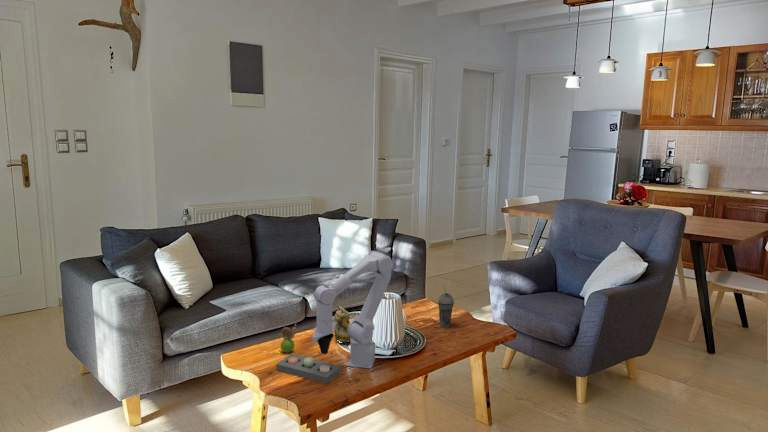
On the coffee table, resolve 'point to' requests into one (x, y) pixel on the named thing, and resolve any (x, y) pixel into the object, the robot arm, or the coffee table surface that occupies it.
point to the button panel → (309, 373)
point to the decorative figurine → (342, 325)
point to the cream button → (325, 368)
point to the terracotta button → (293, 360)
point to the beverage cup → (445, 309)
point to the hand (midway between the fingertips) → (324, 353)
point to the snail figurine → (288, 339)
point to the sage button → (308, 362)
